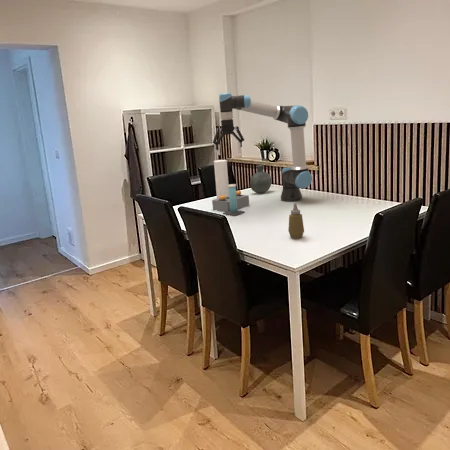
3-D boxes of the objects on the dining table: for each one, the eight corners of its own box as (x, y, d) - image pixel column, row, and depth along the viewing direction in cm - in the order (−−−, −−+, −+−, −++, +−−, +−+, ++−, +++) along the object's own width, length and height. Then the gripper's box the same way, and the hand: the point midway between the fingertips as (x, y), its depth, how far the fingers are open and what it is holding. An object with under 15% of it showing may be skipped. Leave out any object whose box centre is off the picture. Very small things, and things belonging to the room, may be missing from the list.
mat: (244, 212, 287) (244, 211, 287) (234, 216, 280) (234, 214, 280) (233, 211, 294) (233, 209, 293) (223, 214, 287) (223, 213, 286)
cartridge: (236, 210, 290) (234, 183, 285) (238, 212, 285) (237, 184, 280) (228, 211, 288) (226, 184, 283) (231, 213, 283) (229, 186, 279)
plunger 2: (243, 203, 309) (242, 190, 307) (239, 204, 306) (238, 192, 304) (238, 202, 312) (237, 190, 310) (234, 204, 309) (233, 191, 307)
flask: (250, 192, 349) (248, 165, 343) (271, 191, 349) (270, 163, 343) (250, 195, 338) (249, 167, 332) (273, 193, 337) (271, 165, 332)
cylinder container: (228, 201, 324) (225, 160, 316) (215, 201, 326) (212, 161, 318) (230, 198, 333) (227, 158, 325) (218, 199, 335) (215, 159, 327)
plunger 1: (228, 208, 298) (227, 195, 296) (223, 210, 295) (222, 196, 292) (223, 207, 301) (222, 194, 299) (218, 209, 298) (217, 196, 295)
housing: (249, 205, 307) (248, 195, 305) (228, 212, 291) (227, 202, 290) (234, 203, 316) (233, 193, 314) (212, 210, 301) (212, 200, 299)
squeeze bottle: (287, 235, 231) (285, 202, 226) (302, 234, 232) (301, 201, 227) (290, 240, 223) (289, 205, 219) (306, 238, 224) (305, 204, 219)
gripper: (209, 121, 264) (212, 156, 270) (248, 117, 271) (250, 152, 276) (205, 120, 271) (208, 155, 277) (243, 117, 278) (246, 151, 283)
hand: (229, 153), depth 277 cm, fingers open, 13 cm apart
